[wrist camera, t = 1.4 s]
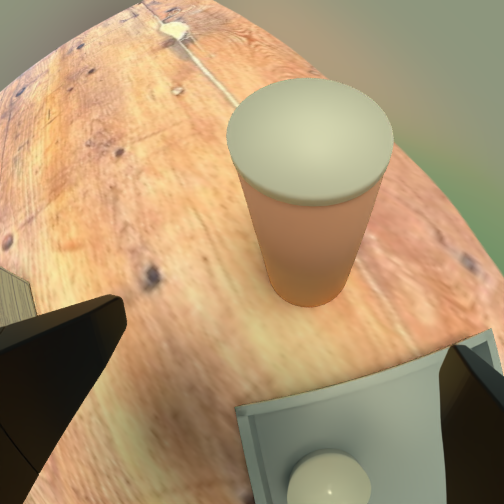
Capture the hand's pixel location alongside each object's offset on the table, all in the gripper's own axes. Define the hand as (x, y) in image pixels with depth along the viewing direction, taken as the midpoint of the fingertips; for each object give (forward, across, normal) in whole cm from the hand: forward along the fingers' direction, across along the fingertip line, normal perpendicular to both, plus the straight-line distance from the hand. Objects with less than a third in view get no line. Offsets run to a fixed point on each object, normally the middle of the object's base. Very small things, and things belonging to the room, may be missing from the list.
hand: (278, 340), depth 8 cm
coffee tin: (+14, 0, +4) cm, 14 cm away
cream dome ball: (+4, -3, +13) cm, 14 cm away
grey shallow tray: (+5, -7, +13) cm, 16 cm away
